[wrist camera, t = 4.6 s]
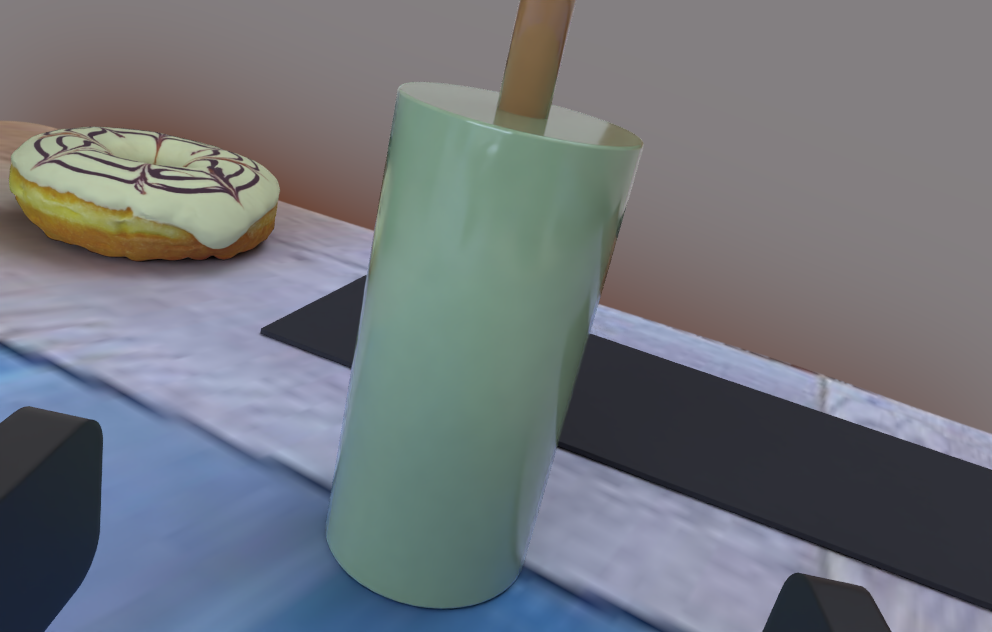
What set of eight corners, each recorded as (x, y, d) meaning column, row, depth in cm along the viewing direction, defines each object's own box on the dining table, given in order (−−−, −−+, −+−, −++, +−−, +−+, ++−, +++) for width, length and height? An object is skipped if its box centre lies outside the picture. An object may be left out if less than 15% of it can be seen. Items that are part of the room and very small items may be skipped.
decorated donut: (267, 290, 33) (278, 202, 31) (-29, 254, 30) (-32, 155, 28) (277, 212, 42) (286, 142, 41) (51, 179, 39) (52, 102, 38)
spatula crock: (299, 583, 18) (552, -1026, 9) (350, 460, 23) (548, -676, 14) (522, 629, 18) (980, -907, 9) (525, 498, 23) (832, -602, 14)
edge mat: (260, 333, 29) (260, 328, 29) (385, 268, 38) (386, 264, 38) (1107, 654, 22) (1111, 648, 22) (1018, 483, 31) (1020, 479, 31)
